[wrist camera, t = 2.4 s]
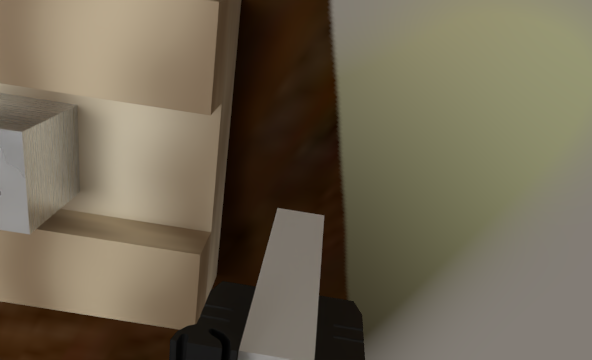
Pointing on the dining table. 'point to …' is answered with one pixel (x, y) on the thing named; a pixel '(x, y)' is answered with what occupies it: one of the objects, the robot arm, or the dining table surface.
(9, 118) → the light grey cube
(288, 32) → the dining table surface
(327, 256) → the dining table surface
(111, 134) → the slot board
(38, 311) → the dining table surface
